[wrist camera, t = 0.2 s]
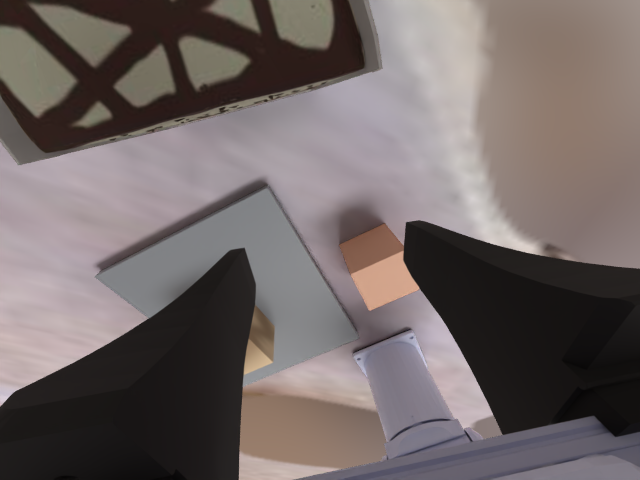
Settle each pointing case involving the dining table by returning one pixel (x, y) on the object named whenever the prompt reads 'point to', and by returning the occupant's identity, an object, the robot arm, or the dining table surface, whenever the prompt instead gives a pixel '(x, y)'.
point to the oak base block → (259, 343)
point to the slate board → (268, 270)
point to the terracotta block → (378, 266)
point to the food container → (164, 64)
